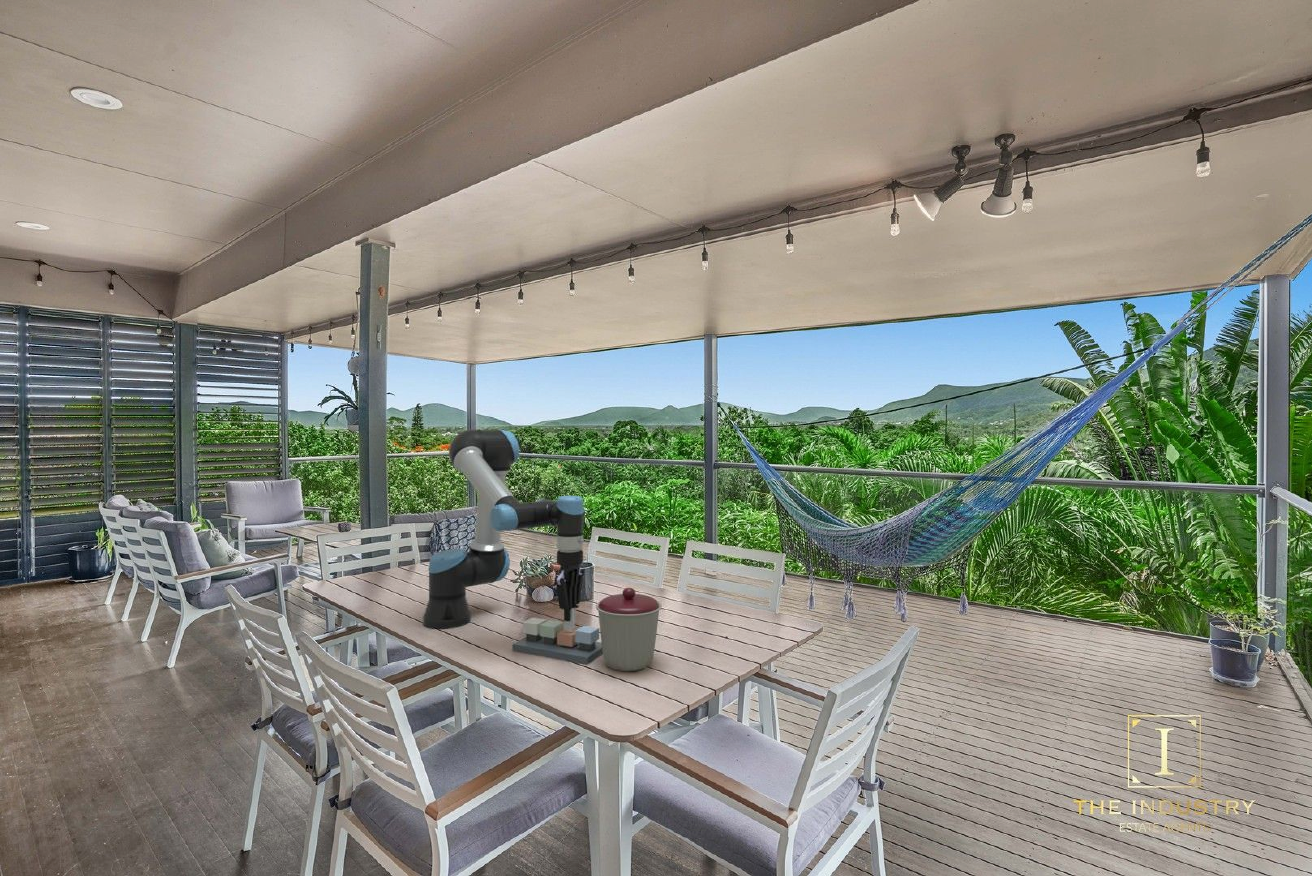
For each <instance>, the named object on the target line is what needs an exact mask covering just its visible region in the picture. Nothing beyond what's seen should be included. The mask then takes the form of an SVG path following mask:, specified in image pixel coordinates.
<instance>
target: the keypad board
mask: <svg viewBox="0 0 1312 876" xmlns="http://www.w3.org/2000/svg"><path fill="white" fill-rule="evenodd" d="M511 645H512V649H511V650H512V652H516V653H522V654H526V655H527V654H528V655H533V656H539V657H544V658H549V659H553V660H559V661H564V662H570V663H575V664H576V663H577V664H580V665H581V664H582V665H590V664H591V663H592V662H594V661H595V660H596V659H598V658H599V657H601V656H603V651H602V643H601V641H595V642H594V643H592V644H591V645H590V644H584V643H577V644H576V645H574V646H573V647H570V646H565V645H559V644H557V637H556V638H549V637H543V636H540V634H538V635H531V634H525V637H523V638H521V639H519V640H518V641H515V642H514V643H512V644H511Z"/></svg>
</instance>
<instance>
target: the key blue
mask: <svg viewBox="0 0 1312 876" xmlns="http://www.w3.org/2000/svg"><path fill="white" fill-rule="evenodd" d="M598 640H600V627H595V626H589V625H583V626H581V627H579V628H578V629H576V631H575V642H578V643H584V644H590V645H591V644H592V643H594V642H595V641H596V642H598Z"/></svg>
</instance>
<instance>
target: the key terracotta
mask: <svg viewBox="0 0 1312 876" xmlns="http://www.w3.org/2000/svg"><path fill="white" fill-rule="evenodd" d="M576 630H577V629H576V628H575V631H576ZM575 631H574V632H566V631H564V630H562V631H560V632H558V633H557V644H559V645H565V646H570V647H573V646H574V645H576V644H577V643H578V642H575Z"/></svg>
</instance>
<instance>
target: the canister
mask: <svg viewBox="0 0 1312 876" xmlns="http://www.w3.org/2000/svg"><path fill="white" fill-rule="evenodd" d="M662 607H663V606H662V603H661V602H660V601H658V600H657V599H655V598H654V597H652V596H650V595H645V594H639V593H636V590H635V589H634V588H633V587H625V588H624V589H623V591H622V593H619V594H612V595H609V596H606V597H604V598H602V599H601V600H599V601H598V602H597V603H596V605H595V608H596V610H597V611H598V624H599V635H600V642H601V643H602V651H603V654H602V657H603V660H604V663H605V664H606V665H607V667H609V668H611V669H613V670H616V671H620V672H635V671H640V670H643V669H645V668H647V667H648V666H650V664H651V663H652V661H653V658H654V655H655V648H656V640H657V634H658V626H659V625H658V623H659V616H660V615H659V613H660V610H662Z"/></svg>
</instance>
